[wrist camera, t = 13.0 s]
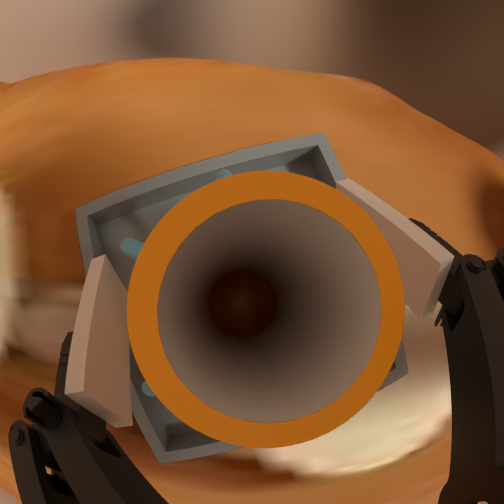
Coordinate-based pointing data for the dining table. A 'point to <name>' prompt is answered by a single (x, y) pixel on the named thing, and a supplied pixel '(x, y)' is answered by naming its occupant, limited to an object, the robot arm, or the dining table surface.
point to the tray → (141, 225)
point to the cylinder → (264, 308)
